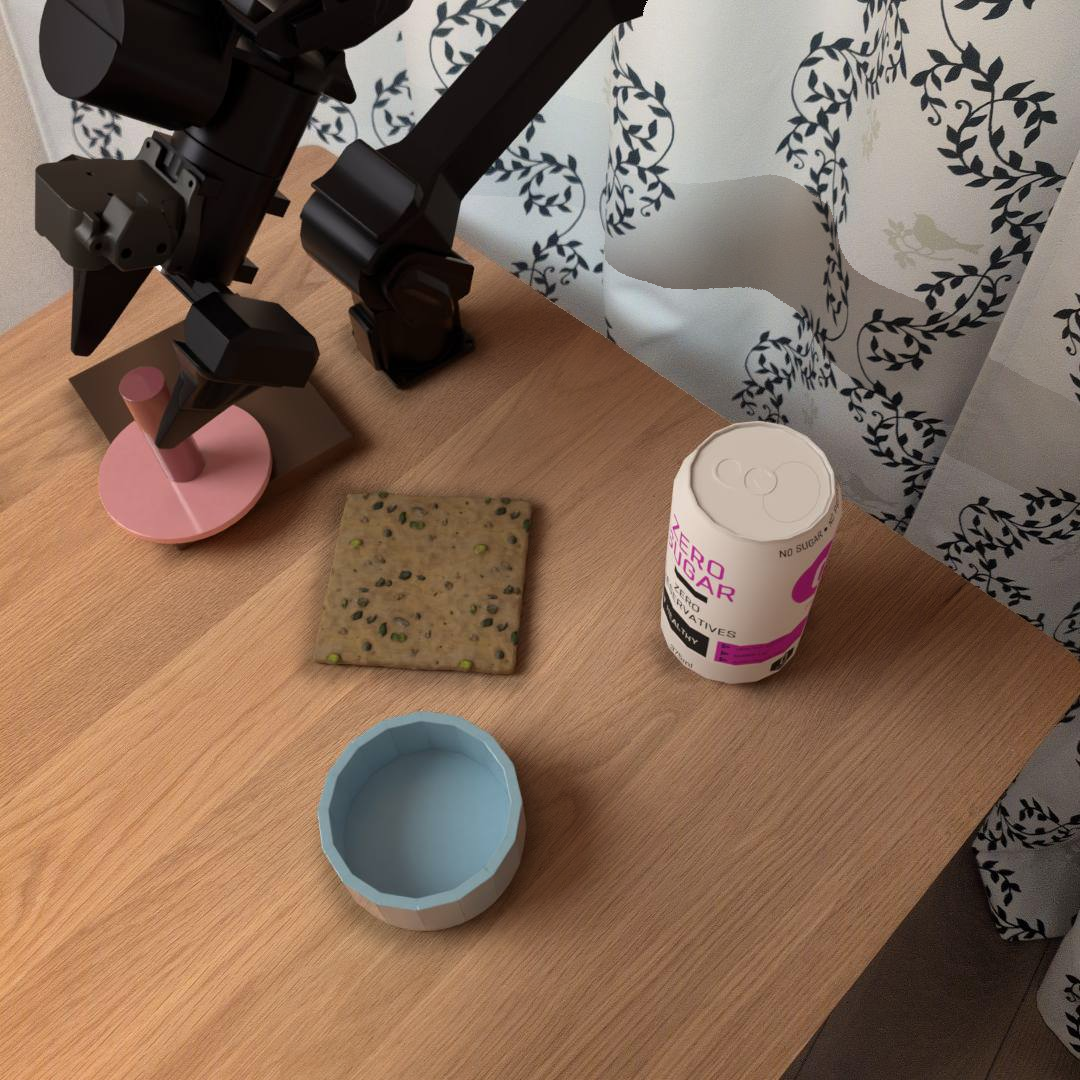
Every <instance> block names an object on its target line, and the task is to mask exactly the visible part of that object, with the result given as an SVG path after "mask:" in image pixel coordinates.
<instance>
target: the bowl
mask: <svg viewBox="0 0 1080 1080" xmlns="http://www.w3.org/2000/svg"><path fill="white" fill-rule="evenodd" d="M316 813H317V821H318V830H319V835H320V836H319V837H320V843H321V849H322V851H323V854H324V855H325V856H326V859H327V860H328V862H329V863H330V864H331V866H332V868H333V869H334V871H335V873H336V874H337V876H338V877H339V879H340V880H341V882H342V884H343V885H344V886H345V888H346V890H347V891H348V893H349V894H350V896H351V897H352V898H353V900H354V901H355V903H356V904H357V905H358V906H360V907H362V908H363V909H364V910H365V911H366V912H368V913H369V914H370V915H372V916H373V917H374V918H375V919H377V920H379V921H382V922H383V923H385V924H387V925H390V926H394V927H396V928H399V929H403V930H408V931H417V932H431V931H433V932H435V931H439V930H445V929H449V928H453V927H456V926H459V925H462V924H464V923H467V922H469V921H470V920H472V919H474V918H475V917H477V916H479V915H480V914H482V913H484V912H485V911H486V910H487V909H489V908H490V907H492V905H493V904H494V903H495V902H496V901H497V900H498V899H500V897H501V896H502V895H503V893H504V892H505V891H506V890H507V888H508V887H509V886H510V884H511V882H512V880H513V879H514V878H515V877H514V876H515V875H516V873H517V871H518V869H519V866H520V863H521V861H522V856H523V852H524V848H525V839H526V831H527V820H526V815H525V807H524V801H523V796H522V792H521V788H520V784H519V780H518V775H517V771H516V767H515V765H514V762H513V761H512V760H511V759H510V757H509V756H508V754H507V753H506V751H505V750H504V749H503V748H502V746H501V745H500V744H499V742H498V741H497V739H496V738H495V737H494V736H493V734H492V733H490V732H488V731H487V730H485V729H483V728H481V727H479V726H478V725H476V724H475V723H473V722H471V721H469V720H467V719H465V718H464V717H462V716H460V715H455V714H449V713H448V714H447V713H441V712H434V711H426V710H420V711H419V710H418V711H415V712H414V711H413V712H410V713H407V714H401V715H397V716H393V717H389V718H385V719H382V720H380V721H379V722H378V723H376V724H375V725H374V726H372V727H370V728H369V729H367V730H366V731H364V732H363V733H361V734H360V735H358V736H356V737H354V739H352V740H351V741H350V742H348V744H347V746H346V747H345V748H344V750H343V751H342V752H341V754H340V755H339V757H338V758H337V759H336V761H335V762H334V763H333V764H332V766H331V767H330V769H329V770H328V771H327V773H326V776H325V780H324V784H323V787H322V791H321V795H320V799H319V802H318V806H317V812H316Z"/></svg>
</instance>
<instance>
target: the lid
mask: <svg viewBox="0 0 1080 1080" xmlns="http://www.w3.org/2000/svg"><path fill="white" fill-rule="evenodd" d="M119 391H120V394H121V396H122V398H123V399H124V401H125V403H126V405H127V407H128V409H129V410H130V412H131V414H132V416H133V418H134V419H135V421H133V422H132V423H130V424H129V425H128V426H127V427H126V428H125V429H124V430H123V431H121V433H120V434H119V435H118V436H117V437H116V438H115V439H114V441H113V442H112V444H111V445H109V446H108V448H107V449H106V452H105V453H104V455H103V458H102V460H101V463H100V466H99V470H98V479H97V480H98V481H97V487H98V494H99V498H100V501H101V503H102V506H103V507H104V509H105V511H106V513H107V514H108V515H109V517H110V519H111V520H112V521H113V522H114V523H115V524H116V525H117V526H118V527H119V528H120V529H122V530H123V531H124V532H125V533H127V534H129V535H131V536H133V537H135V538H138V539H141V540H143V541H146V542H150V543H157V544H166V545H167V544H168V545H174V544H175V543H186V542H192V541H195V542H197V541H200V540H203V539H206V538H209V537H212V536H214V535H217V534H218V533H220V532H223V531H225V530H226V529H228V528H229V527H232V526H233V525H234V524H236V523H237V522H238V521H240V520H241V519H242V518H243V517H245V516H246V515H247V514H248V513H249V512H250V511H251V510H252V508H253V506H254V505H255V504H256V503H257V501H258V500H259V499H260V497H261V495H262V494H263V492H264V491H265V488H266V486H267V484H268V482H269V478H270V475H271V470H272V451H271V446H270V443H269V441H268V438H267V436H266V433H265V431H264V430H263V428H262V426H261V425H260V424H259V423H258V421H257V420H256V419H255V418H254V417H253V416H251V415H250V414H249V413H248V412H246V411H244V410H243V409H241V408H239V407H237V406H235V405H232V406H230V407H229V408H228V409H226V410H225V411H223V412H222V413H221V414H219V415H218V416H217V417H215V418H214V419H213V420H211V421H210V422H208V423H207V424H206V425H204V426H203V427H202V428H200V429H199V430H198V431H196V432H195V433H194V434H192V435H191V436H190V437H188V438H187V439H186V440H184V441H183V442H182V443H180V444H179V445H178V446H176V447H175V448H173V449H158V448H157V447H156V445H155V439H156V435H157V431H158V428H159V424H160V421H161V419H162V416H163V414H164V411H165V409H166V406H167V404H168V401H169V399H170V396H171V394H172V391H171V389H170V387H169V385H168V383H167V381H166V379H165V377H164V375H163V373H162V372H161V371H160V370H158V369H156V368H153V367H139V368H136V369H134V370H132V371H130V372H129V373H127V374H126V375H125V376H124V377H123V379H122V380H121V382H120V385H119ZM253 509H254V508H253ZM196 540H197V541H196Z"/></svg>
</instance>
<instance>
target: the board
mask: <svg viewBox="0 0 1080 1080" xmlns="http://www.w3.org/2000/svg"><path fill="white" fill-rule="evenodd" d="M234 294H235V295H236V296H241V294H240V293H239V292H236V293H235V292H234ZM184 320H185V318H184V319H183V320H180V321H179V322H176V323H174V324H172V325H170V326H168V327H167V328H165V329H163V330H161V331H159V332H157V333H155V334H153V335H151V336H149V337H147V338H144V339H143V340H142V341H141V340H140V342H137V343H134V344H133V345H131V346H129V347H127V348H125V349H123V350H122V351H120V352H118V353H115V354H114V355H112V356H110V357H108V358H106V359H104V360H101V361H100V362H98V363H95V364H93V365H92V366H90V367H89V368H86V369H84V370H83V371H80V372H79V373H76V374H74V375H73V376H71V377H68V379H67V380H68V382H69V384H70V385H71V387H72V389H73V390H74V393H75V394H76V395H77V397H78V398H79V400H80V402H81V403H82V405H83V406H84V408H85V409H86V411H87V413H88V414H89V416H90V417H91V418H92V420H93V422H94V423H95V425H96V426H97V428H98V429H99V431H100V433H101V434H102V436H103V437H104V438H105V440H106V442H107V443H108V444H109V446H110V445H111V444H112V442H113V441H114V439H115V438H116V437H117V436H118V435H119V434H120V433H121V431H123V430H124V429H125V428H126V427H127V426H128V425H129V424H130V423H132V422H133V421H135V419H134V418H133V416H132V414H131V412H130V410H129V409H128V407H127V405H126V403H125V401H124V399H123V398H122V396H121V394H120V391H119V385H120V382H121V380H122V379H123V377H124V376H125V375H126V374H127V373H129V372H130V371H132V370H134V369H136V368H139V367H153V368H156V369H158V370H160V371H161V372H162V373H163V375H164V377H165V379H166V381H167V383H168V385H169V387H170V389H171V391H173V389H174V386H175V384H176V381H177V379H178V376H179V374H180V371H181V364H180V361H179V359H178V356H177V354H176V351H175V349H174V346H173V344H172V341H173V340H180V341H185V332H184ZM233 405H235V406H237V407H239V408H241V409H243V410H244V411H246V412H248V413H249V414H250V415H251V416H253V417H254V418H255V419H256V420H257V421H258V423H259V424H260V425H261V426H262V428H263V430H264V431H265V433H266V436H267V438H268V441H269V443H270V446H271V451H272V470H271V475H270V478H269V482H268V484H267V486H266V488H265V491H264V492H263V494H262V495H261V497H260V499H259V500H258V501H257V503H256V504H255V505H254V506H253V508H252V509H255V508H256V507H257V506H259V505H262V504H263V503H265V502H267V501H268V500H270V499H272V498H273V497H275V496H277V495H279V494H280V493H282V492H284V491H286V490H288V489H289V488H291V487H293V486H295V485H297V484H298V483H300V482H301V481H303V480H305V479H307V478H309V477H311V476H312V475H314V474H316V473H317V472H319V471H321V470H322V469H324V468H326V467H329V465H331V464H333V463H335V462H336V461H338V460H340V459H342V458H343V457H346V456H347V455H349V454H350V453H353V452H354V451H356V450H357V447H356V444H355V439H354V437H353V435H352V433H351V432H350V431H349V429H347V428H348V427H346V426H345V425H344V424H343V422H342V420H340V418H339V417H338V416H337V414H336V413H335V412H334V410H332V408H331V407H330V405H328V403H327V402H326V401H325V400H324V399H323V397H322V396H321V394H320V393H319V392H318V391H317V390H316V388H315V387H314V386H313V385H312V383H311V382H310V381H309V380H308V381H307V383H306V385H305V387H304V388H296V387H286V386H283V387H282V388H276V387H266V386H264V387H262V388H260V389H258V390H257V391H255V392H253V393H252V394H250V395H248V396H247V397H245V398H243V399H241V400H240V401H238V402H236V403H235V404H233ZM252 509H251V510H252ZM197 541H198V540H196V541H192V542H186V543H175V544H173V545H174V547H175V548H176V549H177V551H181V550H183V549H185V548H186V547H188V546H190V545H191V544H194V543H195V542H197Z"/></svg>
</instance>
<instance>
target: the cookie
mask: <svg viewBox="0 0 1080 1080" xmlns="http://www.w3.org/2000/svg"><path fill="white" fill-rule="evenodd" d="M532 507H533V506H532V503H531V502H530V501H526V500H525V501H524V500H517V499H511V498H510V497H507V496H504V497H501V498H494V497H493V498H491V497H489V496H486V497H473V496H470V497H469V496H459V497H457V496H432V497H431V496H422V495H411V494H402V493H400V494H399V493H398V494H397V493H390V492H388V491H381V492H380V491H379V492H378V493H377V492H376V493H372V492H371V493H369V492H364V493H348V494H347V495H346V499H345V504H344V507H343V508H344V509H343V512H342V516H341V518H340V524H339V532H338V536H337V538H336V542H335V549H334V555H333V560H332V564H331V569H330V575H329V578H328V580H327V581H326V583H325V584H326V587H327V588H326V591H325V595H324V598H323V609H322V614H321V618H320V623H319V625H318V628H317V635H316V642H315V648H314V650H313V653H312V660H313V662H314V663H315V664H328V665H333V666H337V665H354V666H362V667H363V666H364V667H376V666H377V667H385V668H387V667H388V668H394V669H395V668H396V669H409V670H414V671H416V670H417V671H418V670H428V671H450V670H452V671H457V672H464V673H468V672H476V673H485V674H493V675H514V671H515V668H516V665H517V659H516V657H517V653H518V651H519V646H518V644H519V635H520V634H521V629H520V626H521V613H522V612H523V611H524V605H523V594H524V592H525V590H526V584H525V580H526V563H527V555H528V552H529V551H528V550H529V541H530V538H531V535H530V531H531V524H532V522H533V520H532V519H531V518H532V513H533V509H532Z"/></svg>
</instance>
